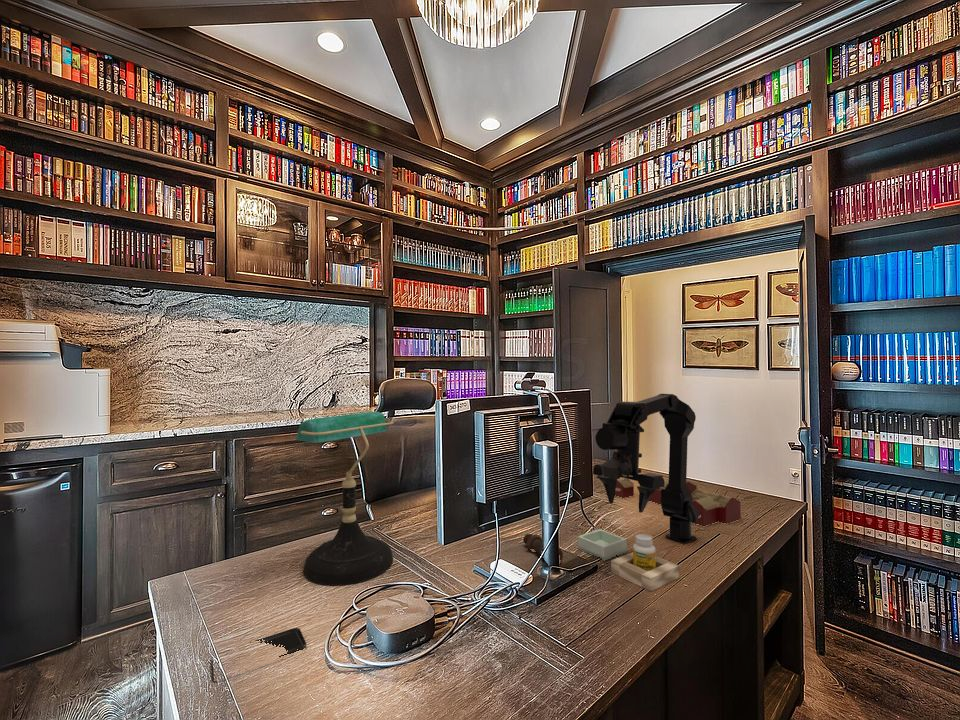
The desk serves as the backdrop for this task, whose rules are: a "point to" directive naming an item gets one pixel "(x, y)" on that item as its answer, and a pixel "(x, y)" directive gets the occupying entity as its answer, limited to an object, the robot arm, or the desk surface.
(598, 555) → the tray
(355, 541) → the banker's lamp
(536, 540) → the brown long lumpy piece
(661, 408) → the robot arm
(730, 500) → the toy houses
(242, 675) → the desk surface
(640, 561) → the supplement bottle
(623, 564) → the socket block
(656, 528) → the desk surface
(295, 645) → the phone
